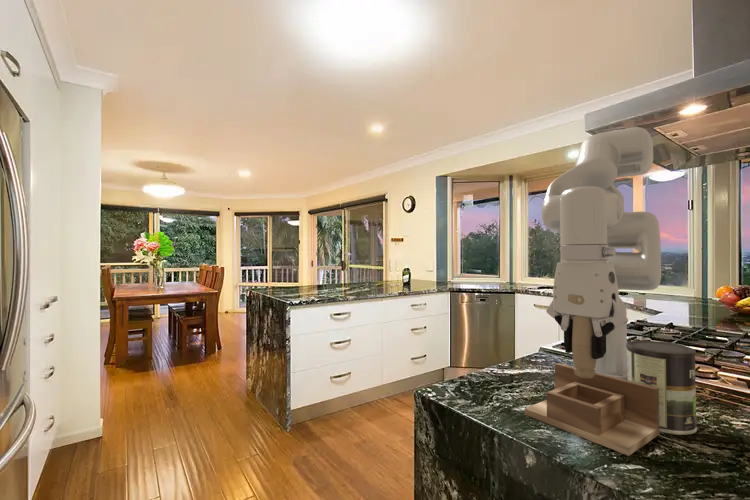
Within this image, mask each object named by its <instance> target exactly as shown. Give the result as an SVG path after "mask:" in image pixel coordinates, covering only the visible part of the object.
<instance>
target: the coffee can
mask: <svg viewBox="0 0 750 500" xmlns="http://www.w3.org/2000/svg"><path fill="white" fill-rule="evenodd" d="M626 347H627V368H628V381H632V382H636V383H640V384H644V385H648V386H652V387H656V388H659V433H664V434H670V435H677V436H688V435H693V434H695V433H697V432H698V426H697V397H696V394H697V393H696V356H697V352H696V351H697V350H696V349H694V348H693V347H689V346H687V345H681V344H678V343H672V342H667V341H666V342H665V341H657V340H644V339H643V340H639V339H638V340H631V341H629V340H628V341H627V343H626Z"/></svg>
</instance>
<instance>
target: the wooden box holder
mask: <svg viewBox="0 0 750 500" xmlns="http://www.w3.org/2000/svg"><path fill="white" fill-rule="evenodd" d="M574 368H575V366H571V365H568V364H563V363H559V362H557V363H554V389H552V390H549V391H547V392H546V399H545V400H542V401H539V402H538V403H535V404H532V405H529V406H527V407H525V408H524V415H525V416H527V417H529V418H532V419H535V420H537V421H540V422H542V423H545V424H547V425H550V426H553V427H555V428H557V429H561V430H563V431H565V432H568V433H570V434H573V435H576V436H578V437H580V438H582V439H585V440H588V441H590V442H593V443H595V444H598V445H600V446H603V447H605V448H608V449H611V450H613V451H616V452H618V453H620V454H623V455H625V456H628V457H629V456H631V455H633V454H634V453H635V452H637V451H638V450H639V449H641V448H642V447H643V446H645V445H646V444H648V443H650V442H651V441H652V440H653V439H655V438H656V437H658V436H659V435H660V432H659V388H656V387H652V386H648V385H644V384H640V383H636V382H632V381H628V380H624V379H620V378H616V377H612V376H608V375H604V374H600V373H596V372H595V376H594V377H592V378H581V377H579V376H576V375H575V373H574Z"/></svg>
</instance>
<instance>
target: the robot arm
mask: <svg viewBox="0 0 750 500" xmlns="http://www.w3.org/2000/svg"><path fill="white" fill-rule="evenodd" d="M577 154H578V155H577V157H576V158H575V160H574V161H575V162H574V163H575V166H573V167H572V168H570V169H569V170H567V171H566V172H564V173H562V174H560V175H559V176H557V178H555V179H554V180H552V182H551V183H550V184H549V185H548V187H547V190H546V192H545V196H544V199H543V202H542V207H541V220H542V223H543V225H544V226H545V227H546V228H547V229H549V230H551V231H554V232H555V231H557V232H558V231H559V235H560V236H559V239H560V240H559V241H560V243H559V245H560V246H559V247H560V262H557V263H556V267H555V271H554V278H553V279H554V280H553V288H552V301H551V302H550V304H549V305H548V307H547V309H546V313H547V314H548V315H549V316H550V317H551V318H553V319H554V320H555V321H556V323H557V325H558V326H560V330H561V331H563V346H564V348H565V349H564V350H565V353H566V354H572V331H573V316H581V317H584V318H591V319H592V323H593V328H594V336H592V338H591V342H592V358H593V359H596V365H595V368H594V370H595V372H596V373H600V374H604V375H608V376H612V377H616V378H620V379H624V380H628V366H627V347H626V343H627V342H628V336H627V335H628V334H627V331H628V329H627V328H628V326H627V324H628V322H629V318H628V317H627V312H628V311H627V306H626V304H625V302H624V301H623V300H622V298H621V297H620V294H619V293H620V292H619V290H626V291H653V290H656V289H658V287H659V286H660V284H661V280H662V252H661V230H660V229H661V228H660V222H659V220H658V217H657V216H656V215H655V214H654V213H652V212H650V211H632V212H631V211H629V212H628V211H626V212H625V207H624V206H625V201H624V200H625V198H624V194H623V192H621V191H620V190H619V189H618V188H617V187H616V186H615V185H613V184H614V183H615V181H616V180H617V179H618V178H624V177H625V178H626V177H634V176H635V177H636V176H642V175H645V174H647V173H649V172H650V171H651V168H652V166H653V163H654V144H653V139H652V136H651V133H650V132H649V131H648V130H647V129H645V128H644V127H640V126H639V127H638V126H635V127H628V128H622V129H616V130H615V129H614V130H610V131H604V132H598V133H595V134H591V136H588V137H587V138H585V139H584V141H583V142H582V143H581V145H580V148H579V150H578V153H577ZM616 249H617V250H618V249H620V250H621V249H633V250H636V251H637V252H616ZM568 295H580V296H583V298H584V301H585V302H584V303H583V304H581V305H577V304H574V303H571V302H569V301H568ZM577 301H578V302H581V299H580V298H577Z"/></svg>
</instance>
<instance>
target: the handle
mask: <svg viewBox="0 0 750 500" xmlns="http://www.w3.org/2000/svg"><path fill="white" fill-rule="evenodd" d="M577 298H580V299H581V302H578V301H577ZM568 301H569V302H571V303H574V304H577V305H581V304H583V303H584V302H585V301H584V298H583V296H580V295H568ZM592 336H594V328H593V323H592V319H591V318H584V317H581V316H573V331H572V353H571V358H572V362H573V367H575V368H574V373H575V375H576V376H579V377H581V378H592V377H594V376H595V370H594V368H595V365H596V359H593V358H592V342H591V338H592Z"/></svg>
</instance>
